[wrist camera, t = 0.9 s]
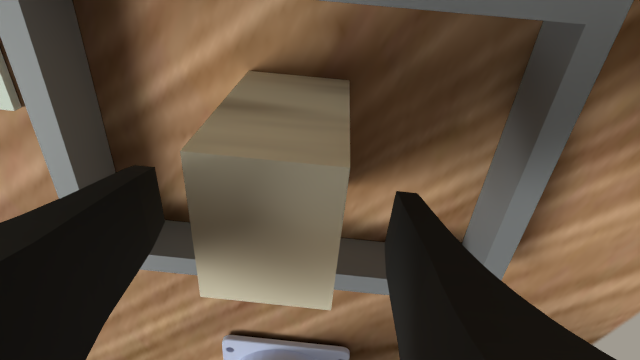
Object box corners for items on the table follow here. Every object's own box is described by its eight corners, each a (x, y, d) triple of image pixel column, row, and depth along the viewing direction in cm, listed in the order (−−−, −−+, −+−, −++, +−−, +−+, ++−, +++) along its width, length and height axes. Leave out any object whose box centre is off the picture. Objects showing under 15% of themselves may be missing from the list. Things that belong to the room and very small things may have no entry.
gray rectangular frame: (473, 266, 19) (489, 305, 17) (111, 229, 19) (82, 263, 17) (588, -18, 12) (639, -12, 10) (26, -67, 13) (-39, -72, 10)
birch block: (336, 186, 17) (330, 310, 11) (251, 178, 17) (200, 296, 11) (349, 80, 15) (350, 167, 9) (248, 70, 15) (180, 151, 9)
